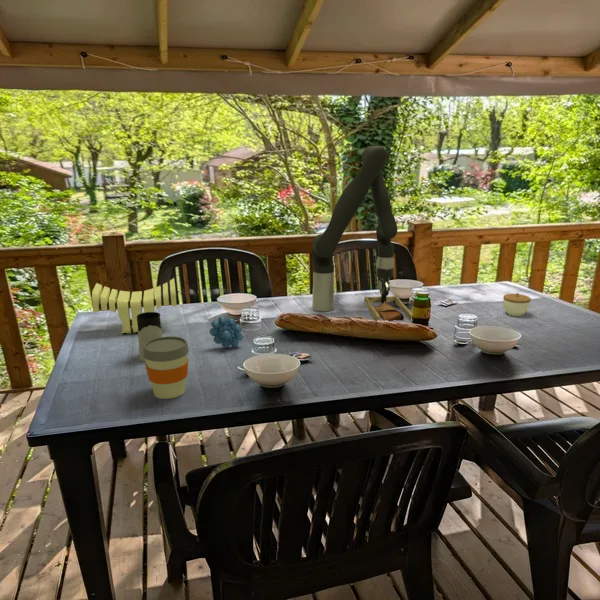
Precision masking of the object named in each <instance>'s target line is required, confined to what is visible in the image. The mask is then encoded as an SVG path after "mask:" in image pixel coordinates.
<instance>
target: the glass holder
mask: <svg viewBox="0 0 600 600" xmlns="http://www.w3.org/2000/svg"><path fill="white" fill-rule="evenodd" d="M161 323H162V322H161V314H160V313H159V312H157V311H155V312H145V313H144V312H142V313H141V314H139V315H137V325H138V329H137V330H138V333H137V339H138V349H139V356H138V360H139V359H140V360H139V361H140V362H144V363H146V359H145V358H144V356H143V349H144V344H145V343H146V342H148V341H150V340H152V339H155V338H160V337H163V329H162V324H161Z"/></svg>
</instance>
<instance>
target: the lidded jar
mask: <svg viewBox="0 0 600 600" xmlns="http://www.w3.org/2000/svg"><path fill="white" fill-rule="evenodd" d="M531 299H532V298H531V297H530V296H528V295H525V294H519V293H518V292H516V293H507V294H504V295H503V301H502V303H503V309H504V311H505V312H506V314H507V315H509V316H512V317H522V316H524V315H525V314H526V313H527V312H528V310H529V309H530V304H531V301H532V300H531Z"/></svg>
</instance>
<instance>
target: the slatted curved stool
mask: <svg viewBox="0 0 600 600" xmlns="http://www.w3.org/2000/svg"><path fill="white" fill-rule="evenodd" d="M175 282H176V281H175V277H173V278H172V279H170V280H169V285H168V282H165V283H163V284H162V287H161V285H159V286H156V287H155V288H153V287H152V288H149V289H146V290H144V291H142V290H140V291H132V293H131V291H125V290H119V292H118V289H114V288H112V289H111V288H110V287H108V286H103V285H102V284H100V283H98V282H96V283H95V285H94V288H93V289H92V292H91V300H92V301H91V302H92V310H93V314H94V313H98V312H100V310H101V311H103V312H104V311H108V310H109V311H110V312H113V313H116V312H117V315H118V318H119V319H120V322H121V324H122V329H123V332H122V331H121V333H122V334H121V335H124V334H123V333H127V334H132V333H131V330H132V332H133V333H134V334H136V332H138V330H137V329H138V325H137V315H139V314H141V313H145V312H156V310H158V309H160V308H162V305H163V307H167V306H170V305H171V307H178V305H177V293H176V292H177V291H176V283H175ZM169 291H170V297H169ZM162 297H163V298H162ZM155 306H156V308H155ZM155 309H156V310H155ZM130 314H131V315H130ZM132 326H133V327H132Z"/></svg>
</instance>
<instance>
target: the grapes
mask: <svg viewBox="0 0 600 600" xmlns="http://www.w3.org/2000/svg"><path fill="white" fill-rule="evenodd" d="M210 324H211V327H212V328H210V329H209V334H210V335H211V336H212V337H213V342H214V343H215V344H217V345H220V344H221V346H222V347H223V348H225V349H228V348H230V347H234V348H236V347H238V345H239V342H241V341H242V340H243V339H244V336H243V333H241V332H242V330H243V328H242V326H241V325H240V324H237V323H236V320H235V319H234V318H232V317H229V318H228V319H227V318H226V317H225V316H219V317H218V319H217V320H212V321H211V323H210Z"/></svg>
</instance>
